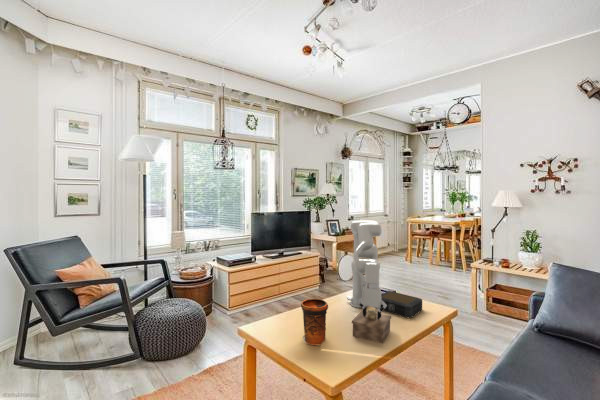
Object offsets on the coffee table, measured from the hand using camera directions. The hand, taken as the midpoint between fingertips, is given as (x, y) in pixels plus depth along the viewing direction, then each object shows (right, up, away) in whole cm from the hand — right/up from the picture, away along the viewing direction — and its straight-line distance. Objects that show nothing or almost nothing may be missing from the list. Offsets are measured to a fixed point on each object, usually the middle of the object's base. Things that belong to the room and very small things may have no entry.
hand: (371, 317), depth 167 cm
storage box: (0, -10, 0) cm, 10 cm away
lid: (0, -2, 0) cm, 2 cm away
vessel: (-32, -10, -5) cm, 34 cm away
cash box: (+27, -9, +37) cm, 47 cm away
